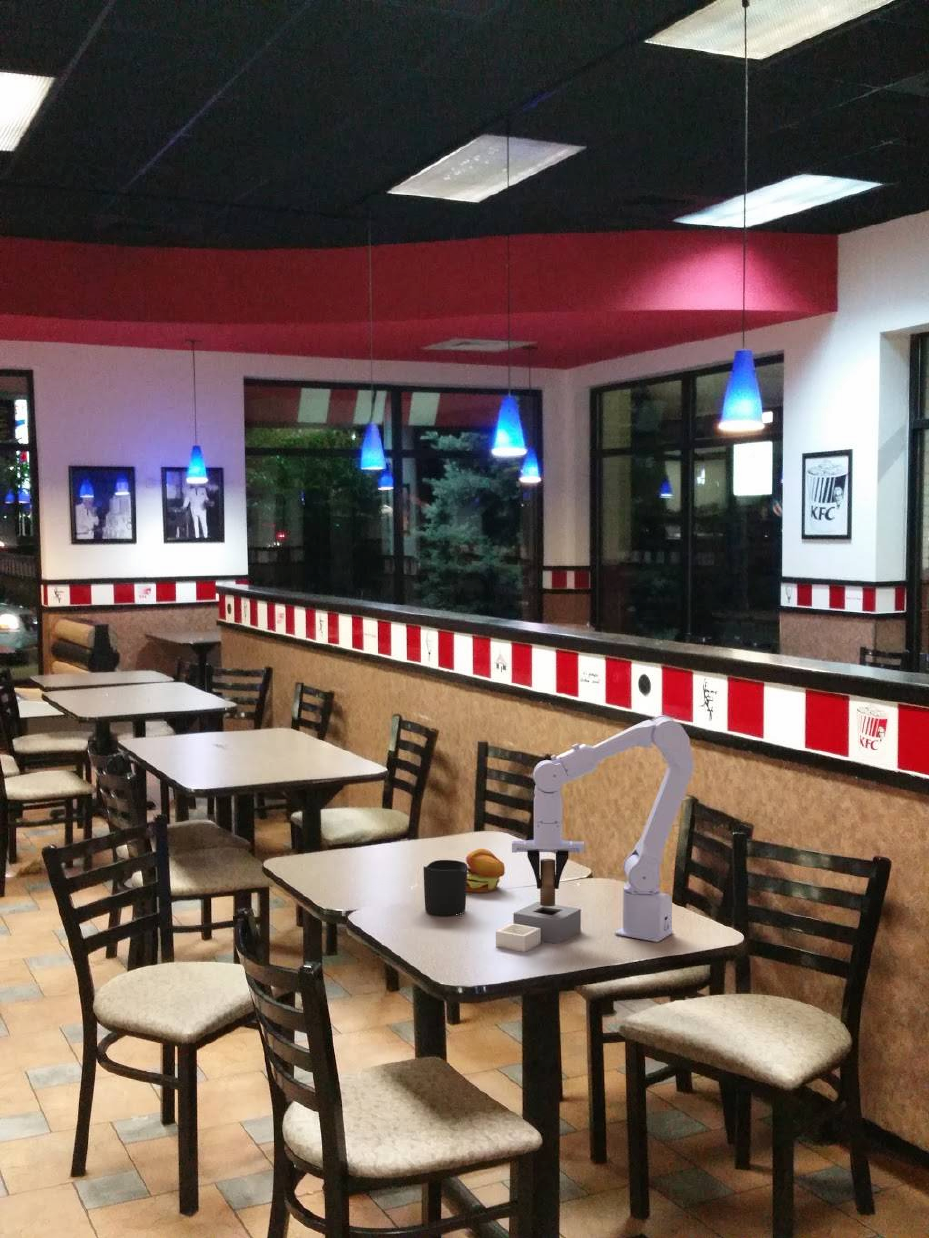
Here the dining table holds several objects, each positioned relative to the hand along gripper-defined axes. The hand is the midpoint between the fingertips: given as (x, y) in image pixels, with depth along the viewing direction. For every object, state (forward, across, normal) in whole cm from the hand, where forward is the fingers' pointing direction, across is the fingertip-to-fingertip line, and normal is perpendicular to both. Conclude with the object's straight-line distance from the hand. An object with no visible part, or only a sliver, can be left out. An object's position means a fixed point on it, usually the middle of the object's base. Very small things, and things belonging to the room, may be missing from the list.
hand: (547, 887), depth 247 cm
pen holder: (+9, +22, -15) cm, 28 cm away
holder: (+9, +6, +8) cm, 14 cm away
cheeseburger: (+10, +15, -34) cm, 38 cm away
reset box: (+9, 0, 0) cm, 9 cm away
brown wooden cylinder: (+3, 0, 0) cm, 3 cm away
